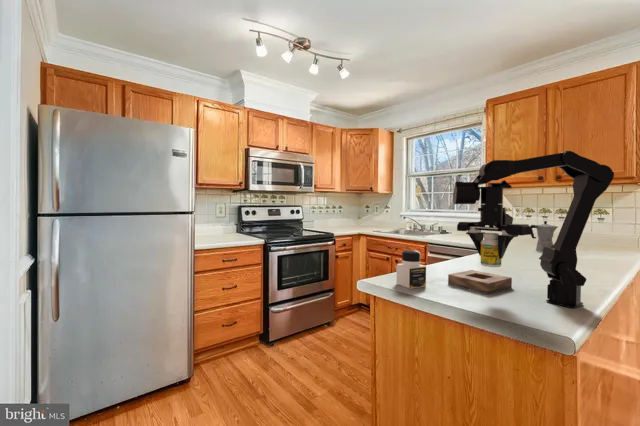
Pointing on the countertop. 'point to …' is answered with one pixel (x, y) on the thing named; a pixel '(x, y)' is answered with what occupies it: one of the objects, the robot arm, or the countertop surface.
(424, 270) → the medicine bottle
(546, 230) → the coffeepot
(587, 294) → the countertop surface
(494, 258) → the supplement bottle
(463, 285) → the socket block
